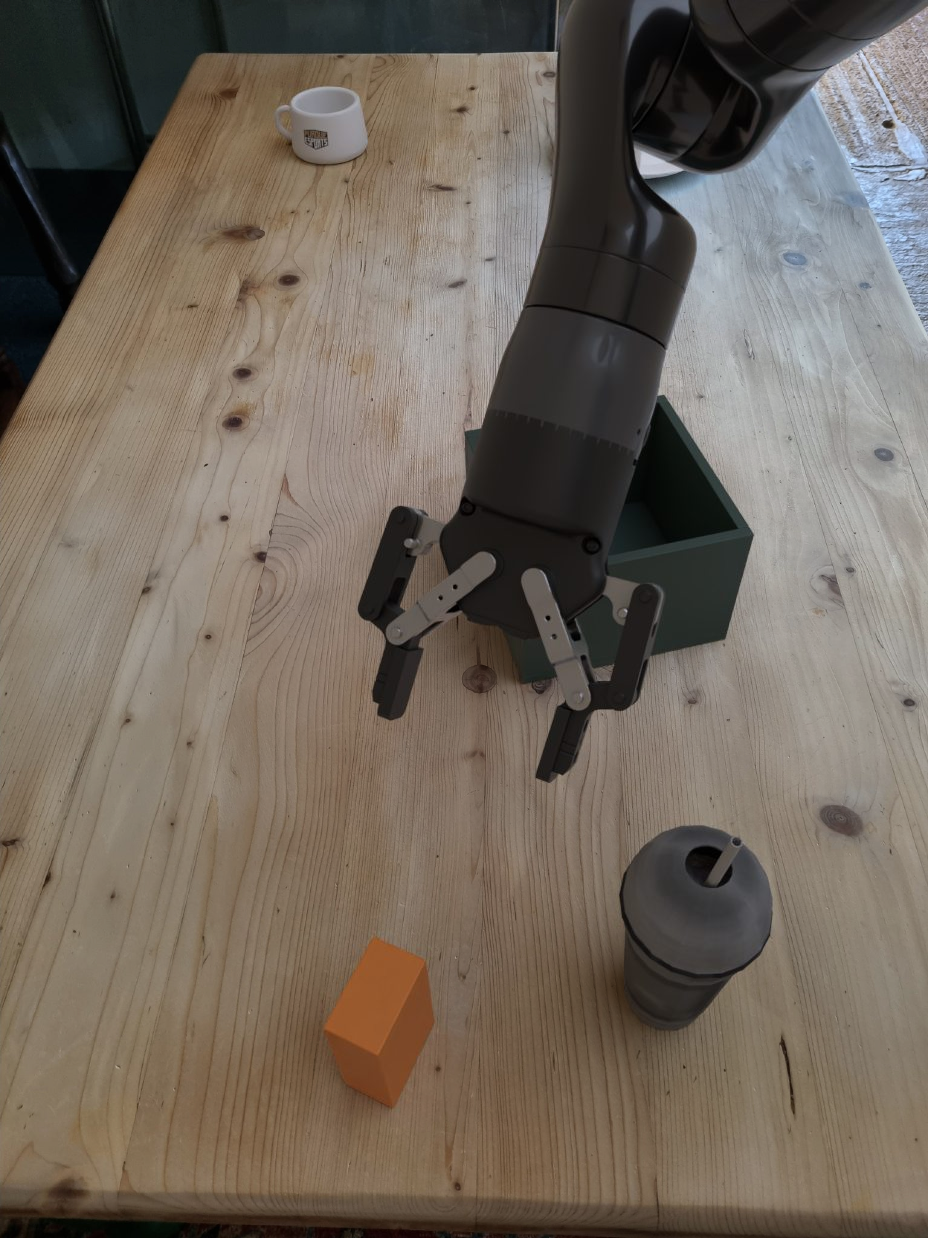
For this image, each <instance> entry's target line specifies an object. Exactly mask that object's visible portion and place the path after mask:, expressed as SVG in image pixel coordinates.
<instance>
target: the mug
mask: <svg viewBox="0 0 928 1238" xmlns="http://www.w3.org/2000/svg"><path fill="white" fill-rule="evenodd" d="M361 104H362V103H361V99H360V96H359V95H358V94H357V93H356V92H355V91H353V90H352V89H349V88H346V87H340V86H317V87H313V88H308V89H306V90H303V91H301V92H299V93H297V94H296V95H295V96H293V97H292V98H291V100H290V102H289V105H287V104H284V105H280V106H278V107H277V108H276V110H275V111H274V115H273V118H274V125H275V127H276V129H277V131H278V132H279V134H280V135H282V136H283V137H285V138H287V139H289V140H291V146H292V147H291V148H292V151H293V153H294V154H295V155H296V156H297V157H299V159H301V160H303V161H305V162H308V163H311V164H316V165H334V164H340V163H345V162H349V161H351V160H354V159H356V158H357V157H360V156H361V155H362V154H363V153H364V152H365V151H366V149H367V147H368V144H369V139H368V132H367V127H366V123H365V117H364V114H363V109H362V105H361ZM284 113H290V115H289V116H290V131H289V130H287V129H286V128H285V127H284V126H283V124H282V120H281V116H282V114H284Z"/></svg>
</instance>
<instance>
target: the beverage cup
mask: <svg viewBox="0 0 928 1238" xmlns="http://www.w3.org/2000/svg"><path fill="white" fill-rule="evenodd" d="M772 894H773V893H772V890H771V886H770V881H769V877H768V875H767V873H766V870H765V869H764V866H762V864H761V862H760V860H759V859H758V857H757V855H756V854H755V853H754V852H753V851H751V849H750V848H749V847H748V846H746V844H744V842H743V839H742V838H741V837H740V836H737V835H734V836H733V835H731V834H730V833H728V832H726V831H724V830H722V829H721V828H715V827H711V826H707V825H703V824H696V825H695V824H694V825H692V824H691V825H680V826H675V827H673V828H670V829H667V830H664V831H661V832H660V833H658V834H657V835H656V836H655V837H653V838H652V839H651V840H649V841H648V842H647V843H645V844H644V845H643V846H642V847H641V848H640V849H639V851H637V854H636V855H634V856H633V859H632V860H631V861H630V863H629V864H628V866H627V868H626V870H624V872H623V876H622V880H621V883H620V888H619V893H618V897H619V898H618V899H619V907H620V913H621V919H622V921H623V925H624V929H625V930H624V950H623V983H624V985H623V986H624V994H625V999H626V1002H627V1004H628V1005H629V1008H630V1010H631V1011H632V1012H633V1013H634V1014H635V1016H636V1017H637V1018H638V1020H639V1021H641V1022H643V1023H644V1024H646V1025H647V1026H649V1027H650V1028H653V1029H656V1030H660V1031H663V1032H671V1031H673V1032H675V1031H679V1030H682V1029H684V1028H687V1027H689V1026H690V1025H691V1024H692V1023H694V1021H696V1020H697V1019H698V1017H700V1016H701V1015H702V1014H703V1013H704V1012H705V1011H706V1010H707V1008H708V1007H709V1006H710V1005H711V1004H712V1002H713V1001H714V1000H715V998H716V997H717V996H718V995H719V993H720V992H721V991H722V990H723V989H724V987H725V986H726V985H727V983H728V982H729V981H731V979H732V977H734V976H735V975H736V974H738V973H739V972H741V971H744V970H745V969H746V968H747V967H749V965H751V964H752V963H753V962H754V961H755V960H757V959H758V958H759V957H760V956H761V954H763V951H764V949H765V948H766V945H767V943H768V942H769V939H770V937H771V932H772V926H773V925H772V923H773V914H774V911H773V907H774V901H773V900H774V898H773V895H772Z"/></svg>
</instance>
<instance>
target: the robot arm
mask: <svg viewBox="0 0 928 1238" xmlns="http://www.w3.org/2000/svg"><path fill="white" fill-rule="evenodd" d="M927 8H928V0H572V2H571V4H570V6H569V8H568V11H567V13H566V16H565V19H564V22H563V25H562V30H561V32H560V33H561V34H560V39H559V43H558V44H559V45H558V49H557V56H556V69H555V79H554V80H555V81H554V128H555V130H554V129H553V131H554V139H553V159H552V171H551V185H550V196H549V202H548V203H549V204H548V212H547V217H546V218H547V219H546V224H545V228H544V233H543V236H542V240H541V243H540V247H539V250H538V254H537V257H536V261H535V264H534V268H533V272H532V274H531V278H530V281H529V285H528V288H527V292H526V294H525V298H524V302H523V305H522V309H521V311H520V313H519V316H518V320H517V321H516V324H515V327H514V329H513V332H512V334H511V336H510V338H509V340H508V343H507V345H506V347H505V349H504V352H503V354H502V357H501V360H500V363H499V366H498V370H497V373H496V377H495V379H494V382H493V387H492V390H491V394H490V397H489V401H488V403H487V406H486V409H485V413H484V417H483V419H482V420H483V421H482V424H481V427H480V428H481V430H480V434H479V437H478V440H477V444H476V447H475V451H474V454H473V457H472V461H471V464H470V468H469V471H468V474H467V478H466V477H465V481H464V485H463V489H462V491H461V495H460V501H459V505H458V508H457V510H456V511H455V513H454V515H453V517H451V519H450V520H449V521H448V522H447V523H446V522H444V521H441V520H439V519H436V518H433V517H431V516H429V514H428V513H427V512H426V511H425V510H423V509H421V508H416V507H411V506H405V505H397V506H395V507H393V508H392V509H391V510H390V512H389V516H388V518H387V521H386V524H385V527H384V530H383V533H382V535H381V537H380V541H379V544H378V547H377V550H376V552H375V555H374V559H373V561H372V564H371V567H370V569H369V573H368V575H367V578H366V580H365V584H364V587H363V590H362V593H361V595H360V598H359V601H358V604H357V613H358V616H359V617H360V618H361V619H362V620H363V621H366V622H370V623H371V624H373V626H375V627H376V628H377V629H378V630H380V632H381V633H382V634H383V636H384V640H385V641H384V642H385V644H384V649H383V651H382V656H381V659H380V662H379V666H378V669H377V674H376V676H375V680H374V683H373V686H372V690H371V696H372V702H373V703H375V704H377V705H378V706H377V709H376V715H377V717H380V718H381V719H385V720H388V721H390V722H392V721H394V720H398V719H400V718H402V717H403V716H404V715H405V713H406V711H407V707H408V704H409V701H410V698H411V694H412V690H413V687H414V685H415V680H416V678H417V674H418V671H419V667H420V664H421V661H422V658H423V653H424V651H425V647H421V646H420V642H421V641H423V640H424V639H425V638H427V637H428V636H430V635H431V634H432V633H433V632H435V631H436V630H438V629H439V628H440V627H441V626H443V625H445V624H446V623H448V622H449V621H452V620H454V619H456V618H457V617H458V616H460V615H461V614H463V615H464V616H466V620H467V621H468V622H471V623H474V624H476V625H480V626H491V627H498V628H499V629H501V630H502V629H503V630H504V631H506V632H507V633H509V634H510V635H512V636H514V637H517V638H520V639H523V640H526V641H527V640H535V639H541V638H542V641H543V644H544V647H545V650H546V653H547V656H548V659H549V661H550V663H551V664H552V665H553V667H554V668H555V671H556V674H557V677H556V678H557V679H558V683H559V685H560V688H561V691H562V694H563V697H564V701H563V703H561V704H559V705H556V709H555V712H554V715H553V718H552V721H551V724H550V728H549V731H548V734H547V737H546V739H545V744H544V746H543V749H542V752H541V755H540V759H539V762H538V765H537V768H536V771H535V779H537V780H539V781H541V782H544V783H546V784H551V783H552V782H553V781H554V780H556V779H557V777H558V775H560V776H564V775H566V774H567V773H568V772H569V771H570V770H571V769H572V768H573V767H574V766H575V764H576V763H577V761H578V759H579V756H580V751H581V749H582V746H583V742H584V741H585V740H584V739H585V737H586V733H587V730H588V728H589V724H590V721H591V718H592V715H593V713H595V711H600V710H601V711H602V710H603V711H604V710H609V711H610V710H611V711H612V710H613V711H616V712H624V711H626V710H627V709H629V708H630V707H632V706H633V705H634V704H636V703H637V702H638V701H639V700H640V697H641V694H642V691H643V690H642V689H643V686H644V682H645V678H646V674H647V672H648V671H647V670H648V667H649V664H650V660H651V656H652V655H651V652H652V648H653V644H654V640H655V636H656V632H657V629H658V625H659V621H660V617H661V613H662V610H663V606H664V602H665V597H666V595H665V591H664V589H663V588H662V587H661V586H659V585H658V584H655V583H644V584H642V583H638V582H634V581H630V580H626V579H621V578H617V577H613V576H610V573H609V568H608V554H609V550H610V546H611V543H612V540H613V537H614V534H615V531H616V527H617V524H618V521H619V518H620V515H621V512H622V508H623V505H624V502H625V499H626V496H627V493H628V489H629V486H630V483H631V480H632V477H633V474H634V471H635V468H636V465H637V462H638V458H639V455H640V452H641V449H642V447H643V446H644V445H645V443H646V441H647V438H648V435H649V431H650V427H651V426H650V421H651V418H652V414H653V411H654V408H655V404H656V400H657V396H659V390H660V384H661V380H662V379H661V378H662V373H663V368H664V363H665V360H666V354H667V350H668V349H669V346H670V342H671V340H672V336H673V333H674V330H675V327H676V324H677V320H678V318H679V314H680V311H681V309H682V305H683V301H684V299H685V294H686V291H687V288H688V285H689V282H690V280H691V276H692V273H693V270H694V266H695V262H696V256H697V252H698V240H697V234H696V231H695V229H694V226H693V225H692V223H691V222H690V221H689V220H688V219H687V218H686V217H685V216H684V215H683V214H682V213H681V212H680V211H679V210H678V209H676V207H674V206H673V205H672V204H671V203H669V202H668V201H667V200H666V199H664V198H663V197H662V196H661V195H660V194H658V193H657V192H656V191H655V190H654V189H653V188H652V186H650V185H649V184H648V182H647V181H646V179H644V178H643V177H642V175H641V174H640V172H639V170H638V167H637V163H636V158H635V151H634V148H636V149H638V150H640V151H643V152H645V153H647V154H649V155H652V156H654V157H656V158H658V159H661V160H663V161H665V162H667V163H669V164H672V165H674V166H676V167H678V168H681V169H683V170H684V171H686V172H689V173H691V174H696V175H703V176H716V175H723V174H728V173H731V172H735V171H738V170H740V169H742V168H744V167H746V166H748V165H749V164H750V163H751V162H752V161H754V160H755V159H756V158H757V157H758V156H759V155H760V153H762V151H763V150H764V149H765V148H766V147H767V146H768V144H769V143H770V141H771V140H772V138H773V137H774V136H775V135H776V133H777V131H778V130H779V128H780V127H781V126H782V125H783V123H784V122H785V120H786V119H787V118H788V117H789V115H790V114H791V113H792V112H793V111H794V110H795V109H796V108H797V106H798V105H799V104H800V103H801V102H802V100H803V99H804V98H805V97H806V96H807V95H808V94H809V92H810V91H811V90H812V89H813V88H814V87H815V85H816V84H817V83H819V81H820V80H821V79H822V77H823V76H824V75H825V74H826V73H827V72H828V71H829V70H830V69H831V68H834V67H835V66H837V65H838V64H840V63H842V62H843V61H844V60H847V59H848V58H850V57H851V56H853V55H855V54H857V53H858V52H859V51H861V50H862V49H864V48H866V47H867V46H869V45H871V44H872V43H874V42H876V41H877V40H878V39H880V38H882V37H884V36H885V35H887V34H888V33H890V32H892V31H894V30H895V29H896V28H898V27H899V26H902V25H903V24H904V23H905V22H907V21H908V20H910V19H912V18H913V17H914V16H917V15H918V14H919V13H921V12H922V11H924V10H925V9H927ZM437 543H438V544H439V545H438V546H439V550H440V553H441V557H442V559H443V563H444V566H445V570H446V573H447V575H448V576H447V577H446V578H444V579H443V580H441V581H440V582H439V583H438V584H437V585H435V586H434V587H432V588H430V590H428V591H427V592H426V593H425V594H423V595H422V596H420V597H419V598H418V599H417V600H416V602H415V603H414V604H413V605H412V606H411V607H410V608H409V607H408V609H407V610H405V609H404V608H403V607H402V606H401V605H402V602H403V600H404V596H405V594H406V592H407V591H406V590H407V588H408V585H409V582H410V579H411V576H412V573H413V572H414V571H413V570H414V568H415V565H416V563H417V561H418V560H417V559H418V557H424V556H426V555H428V554H429V553H430V551H431V549H432V548H433V546H434V545H436V544H437ZM604 596H607V597H608V598H609V599H610V600H611V602H612V605H613V612H612V613H613V618H614V620H615V621H616V622H617V623H618V624H620V625H623V626H624V628H623V632H622V635H621V639H620V643H619V647H618V651H617V655H616V659H615V663H614V664H613V667H612V670H611V675H610V678H609V680H598V678H597V675H596V673H595V670H594V669H595V668H593V666H592V664H591V661H590V658H589V649H588V645H587V642H586V640H585V637H584V634H583V631H582V628H581V625H580V622H579V619H578V616H579V615H580V614H582V613H583V612H584V611H586V610H587V609H588V608H590V607H591V606H592V605H594V604H595V603H596V602H598V601H599V600H600V599H602V598H603V597H604ZM503 630H502V631H503ZM569 631H570V632H571V635H570V634H569ZM555 634H556V636H557V638H555V637H554V635H555ZM650 655H651V656H650Z"/></svg>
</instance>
